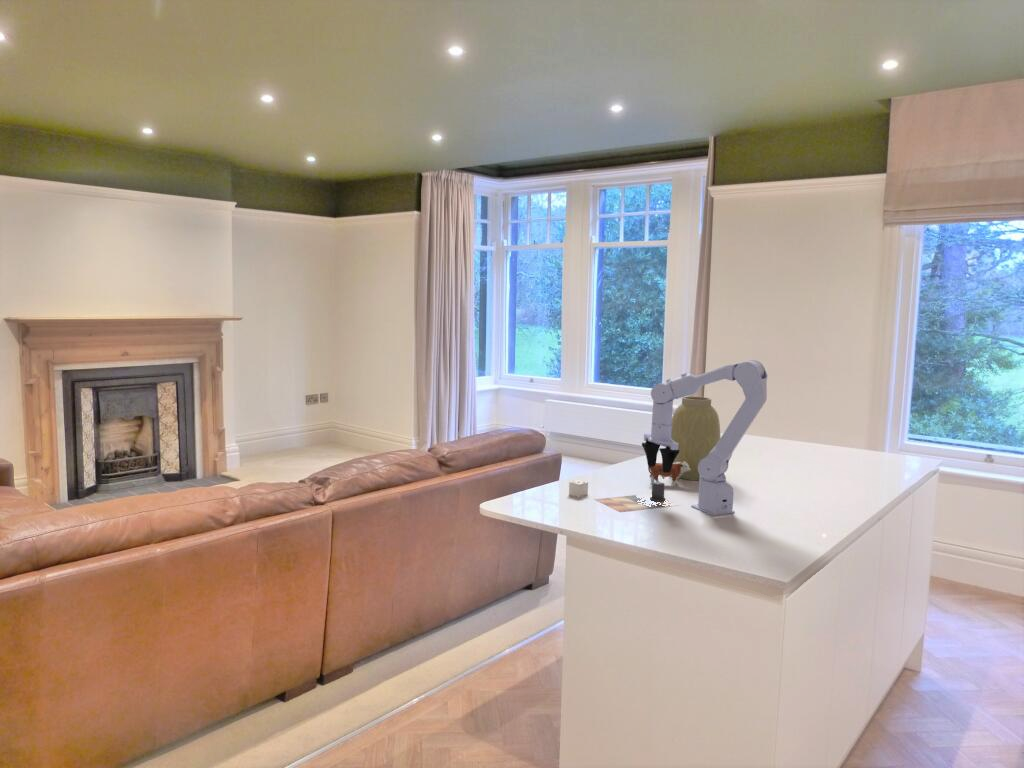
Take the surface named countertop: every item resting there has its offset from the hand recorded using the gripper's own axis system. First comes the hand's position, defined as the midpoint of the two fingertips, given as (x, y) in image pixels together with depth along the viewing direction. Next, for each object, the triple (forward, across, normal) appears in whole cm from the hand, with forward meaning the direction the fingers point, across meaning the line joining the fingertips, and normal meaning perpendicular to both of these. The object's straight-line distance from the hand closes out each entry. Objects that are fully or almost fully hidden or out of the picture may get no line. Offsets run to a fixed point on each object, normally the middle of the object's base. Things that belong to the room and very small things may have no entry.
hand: (658, 469), depth 208 cm
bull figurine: (+10, -15, +15) cm, 23 cm away
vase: (+10, -23, +31) cm, 40 cm away
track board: (+10, 0, -7) cm, 12 cm away
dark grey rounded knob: (+9, 0, 0) cm, 9 cm away
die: (+10, -13, -19) cm, 25 cm away
